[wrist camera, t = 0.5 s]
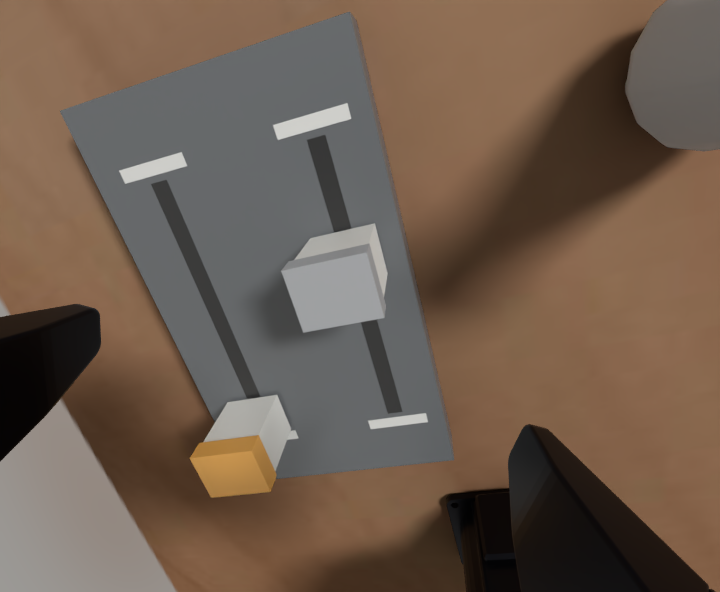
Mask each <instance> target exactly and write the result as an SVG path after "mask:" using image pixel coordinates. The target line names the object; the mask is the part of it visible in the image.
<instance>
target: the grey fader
mask: <svg viewBox="0 0 720 592" xmlns="http://www.w3.org/2000/svg"><path fill="white" fill-rule="evenodd" d="M281 272H282V275H283V277H284V280H285V283H286V286H287V289H288V291H289V294H290V297H291V300H292V303H293V305H294V308H295V311H296V314H297V316H298V319H299V322H300V325H301V328H302V330H303V333H304V332H310V331H315V330H321V329H326V328H332V327H337V326H343V325H348V324H354V323H359V322H365V321H370V320H376V319H381V318H384V317H385V310H386V304H385V300H384V294H385V288H386V281H387V275H388V273H387V269H386V265H385V261H384V257H383V253H382V249H381V246H380V242H379V238H378V234H377V230H376V226H375V223H374V224H370V225H365V226H361V227H357V228H352V229H348V230H344V231H339V232H335V233H331V234H326V235H322V236H318V237H313V238H310V239H309V241H308V242H307V243H306V245H305V246H304V247H303V249H302V250H301V251H300V253H299V254H298V255H297V257H296V258H295V259H294V260H292V261H288V263H287V264H286V265H285V267H284V268H283V269H282V270H281Z"/></svg>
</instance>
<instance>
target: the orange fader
mask: <svg viewBox="0 0 720 592" xmlns="http://www.w3.org/2000/svg"><path fill="white" fill-rule="evenodd" d="M290 431H291V427H290V425H289V422H288V420H287V417H286V415H285V413H284V410H283V408H282V405H281V403H280V401H279V398H278V396H277V395H272V396H265V397H259V398H252V399H245V400H239V401H232V402H227V404H226V406H225V407H224V409H223V411H222V412H221V414H220V415H219V417H218V419H217V420H216V422H215V424H214V425H213V427H212V429H211V430H210V432H209V433H208V435H207V437H206V438H205V440H204V442H202V443H199V444H198V446H197V447H196V449H195V451H194V452H193V454H192V455H191V457H190V460H191V462H192V464H193V466H194V467H195V469H196V471H197V473H198V475H199V476H200V478H201V480H202V482H203V484H204V486H205V487H206V489H207V491H208V493H209V495H210V496H211V498H214V497H224V496H234V495H244V494H254V493H264V492H271V490H272V487H273V484H274V482H275V479H276V476H277V474H276V472H275V471H276V468H277V466H278V463H279V460H280V457H281V455H282V452H283V449H284V447H285V444H286V441H287V439H288V436H289V433H290Z"/></svg>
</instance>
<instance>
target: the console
mask: <svg viewBox="0 0 720 592" xmlns="http://www.w3.org/2000/svg"><path fill="white" fill-rule="evenodd" d="M60 112H61V114H62V116H63V118H64V120H65V122H66V124H67V126H68V128H69V130H70V132H71V134H72V136H73V138H74V141H75V143H76V145H77V147H78V149H79V151H80V153H81V155H82V157H83V159H84V161H85V163H86V165H87V167H88V169H89V171H90V173H91V175H92V177H93V179H94V181H95V183H96V185H97V187H98V189H99V191H100V193H101V195H102V197H103V199H104V201H105V203H106V205H107V207H108V209H109V211H110V213H111V215H112V217H113V219H114V221H115V223H116V225H117V227H118V229H119V231H120V233H121V235H122V237H123V239H124V241H125V243H126V245H127V247H128V249H129V251H130V253H131V255H132V257H133V259H134V261H135V263H136V265H137V267H138V269H139V271H140V273H141V275H142V277H143V279H144V281H145V283H146V285H147V287H148V289H149V291H150V293H151V295H152V297H153V299H154V301H155V303H156V305H157V307H158V309H159V311H160V313H161V315H162V317H163V319H164V321H165V323H166V325H167V327H168V329H169V331H170V333H171V335H172V337H173V339H174V341H175V343H176V345H177V347H178V349H179V351H180V353H181V355H182V357H183V359H184V361H185V363H186V365H187V367H188V369H189V372H190V374H191V376H192V378H193V380H194V382H195V384H196V386H197V388H198V390H199V392H200V394H201V396H202V398H203V400H204V402H205V404H206V406H207V408H208V410H209V412H210V414H211V416H212V418H213V420H214V422H216V420H217V419H218V417H219V415H220V414H221V412H222V411H223V409H224V407H225V406H226V404H227V402H232V401H239V400H245V399H252V398H259V397H265V396H272V395H277V396H278V398H279V401H280V403H281V405H282V408H283V410H284V413H285V415H286V417H287V420H288V422H289V425H290V427H291V431H290V433H289V436H288V439H287V441H286V444H285V447H284V449H283V452H282V455H281V457H280V460H279V463H278V466H277V468H276V471H275V472H276V474H277V476H276V479H280V478H289V477H299V476H308V475H318V474H327V473H336V472H346V471H355V470H365V469H374V468H383V467H393V466H402V465H412V464H421V463H431V462H440V461H449V460H454V454H453V444H452V435H451V431H450V426H449V422H448V417H447V413H446V409H445V404H444V400H443V396H442V391H441V387H440V383H439V378H438V374H437V370H436V365H435V361H434V356H433V352H432V348H431V343H430V339H429V335H428V330H427V326H426V322H425V317H424V313H423V309H422V304H421V300H420V295H419V291H418V287H417V282H416V278H415V274H414V269H413V265H412V261H411V256H410V252H409V248H408V243H407V239H406V234H405V230H404V226H403V221H402V217H401V213H400V208H399V204H398V200H397V195H396V191H395V187H394V182H393V178H392V173H391V169H390V165H389V160H388V156H387V152H386V147H385V143H384V139H383V134H382V130H381V126H380V121H379V117H378V112H377V108H376V104H375V99H374V95H373V91H372V86H371V82H370V78H369V73H368V69H367V65H366V60H365V56H364V51H363V47H362V43H361V38H360V34H359V30H358V25H357V21H356V19H355V18H354V17H353V15H352V14H351V13H350V12H347V13H344V14H341V15H338V16H335V17H332V18H330V19H327V20H324V21H321V22H318V23H315V24H312V25H309V26H306V27H303V28H300V29H297V30H295V31H292V32H289V33H286V34H283V35H280V36H277V37H274V38H271V39H268V40H265V41H262V42H260V43H257V44H254V45H251V46H248V47H245V48H242V49H239V50H236V51H233V52H230V53H227V54H225V55H222V56H219V57H216V58H213V59H210V60H207V61H204V62H201V63H198V64H195V65H192V66H190V67H187V68H184V69H181V70H178V71H175V72H172V73H169V74H166V75H163V76H160V77H157V78H155V79H152V80H149V81H146V82H143V83H140V84H137V85H134V86H131V87H128V88H125V89H122V90H120V91H117V92H114V93H111V94H108V95H105V96H102V97H99V98H96V99H93V100H90V101H87V102H85V103H82V104H79V105H76V106H73V107H70V108H67V109H64V110H61V111H60ZM374 223H375V226H376V230H377V234H378V238H379V242H380V246H381V249H382V253H383V257H384V261H385V265H386V269H387V273H388V275H387V281H386V288H385V294H384V300H385V304H386V310H385V317H384V318H381V319H376V320H370V321H365V322H359V323H354V324H348V325H343V326H337V327H332V328H326V329H321V330H315V331H310V332H304V333H303V330H302V328H301V325H300V322H299V319H298V316H297V314H296V311H295V308H294V305H293V303H292V300H291V297H290V294H289V291H288V289H287V286H286V283H285V280H284V277H283V275H282V272H281V270H282V269H283V268H284V267H285V265H286V264H287V263H288V261H292V260H294V259H295V258H296V257H297V255H298V254H299V253H300V251H301V250H302V249H303V247H304V246H305V245H306V243H307V242H308V241H309V239H310V238H313V237H318V236H322V235H326V234H331V233H335V232H339V231H344V230H348V229H352V228H357V227H361V226H365V225H370V224H374Z"/></svg>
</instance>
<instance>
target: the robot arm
mask: <svg viewBox="0 0 720 592" xmlns="http://www.w3.org/2000/svg"><path fill="white" fill-rule="evenodd" d="M100 345H101V332H100V314H99V312H98V311H97V310H96V309H95V308H91V307H88V306H84V305H80V304H73V305H67V306H61V307H55V308H50V309H44V310H38V311H33V312H27V313H21V314H15V315H10V316H5V317H0V461H1V460H2V459H3V458H4V457H5V456H6V455H7V454H8V453H9V452H10V451H11V450H12V449H13V448H14V447H15V446H16V445H17V444H18V443H19V442H20V441H21V440H22V439H23V438H24V437H25V436H26V435H27V434H28V433H29V432H30V431H31V430H32V429H33V428H34V427H35V426H36V425H37V424H38V423H39V422H40V421H41V420H42V419H43V418H44V417H45V416H46V415H47V414H48V412H49V411H50V410H51V409H52V408H53V407H54V406H55V405H56V403H57V402H58V401H59V400H60V399H61V397H62V396H63V395H64V394H65V392H66V391H67V390H68V389H69V388H70V386H71V385H72V384H73V383H74V381H75V380H76V379H77V378H78V377H79V375H80V374H81V373H82V372H83V370H84V369H85V368H86V367H87V366H88V364H89V363H90V362H91V361H92V359H93V358H94V357H95V356H96V354H97V353H98V351H99V349H100ZM508 471H509V489H510V490H499V491H488V492H477V493H465V494H454V495H450V496H448V497H447V508H448V512H449V516H450V520H451V524H452V528H453V532H454V536H455V539H456V543H457V547H458V551H459V555H460V559H461V562H462V564H463V565H464V574H465V584H466V592H715V591H714V590H712V589H709V586H708V584H707V583H706V582H705V581H704V580H703V579H702V578H701V577H700V576H699V575H698V574H697V573H695V572H694V571H693V570H692V569H691V568H690V567H689V566H688V565H687V564H686V563H685V562H684V561H683V560H682V559H681V558H680V557H679V556H678V555H677V554H676V553H675V552H674V551H673V550H672V549H671V548H670V547H669V546H668V545H667V544H666V543H665V542H664V541H663V540H661V539H660V538H659V537H658V536H657V535H656V534H655V533H654V532H653V531H652V530H651V529H650V528H649V527H648V526H647V525H646V524H645V523H644V522H643V521H642V520H641V519H640V518H639V517H638V516H637V515H636V514H635V513H634V512H633V511H632V510H631V509H630V508H629V507H627V506H626V505H625V504H624V503H623V502H622V501H621V500H620V499H619V498H618V497H617V496H616V495H615V494H614V493H613V492H612V491H611V490H610V489H609V488H608V487H607V486H606V485H605V484H604V483H603V482H602V481H601V480H600V479H599V478H598V477H597V476H596V475H595V474H593V473H592V472H591V471H590V470H589V469H588V468H587V467H586V466H585V465H584V464H583V463H582V462H581V461H580V460H579V459H578V458H577V457H576V456H575V455H574V454H573V453H572V452H571V451H570V450H569V449H568V448H567V447H566V446H565V445H564V444H563V443H562V442H561V441H559V440H558V439H557V438H556V437H555V436H554V435H553V434H552V433H551V432H550V431H549V430H548V429H546V428H542V427H539V426H535V425H531V424H528V425H525V426H524V428H523V429H522V431H521V433H520V435H519V437H518V439H517V441H516V443H515V445H514V447H513V449H512V451H511V453H510V456H509V460H508Z"/></svg>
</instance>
